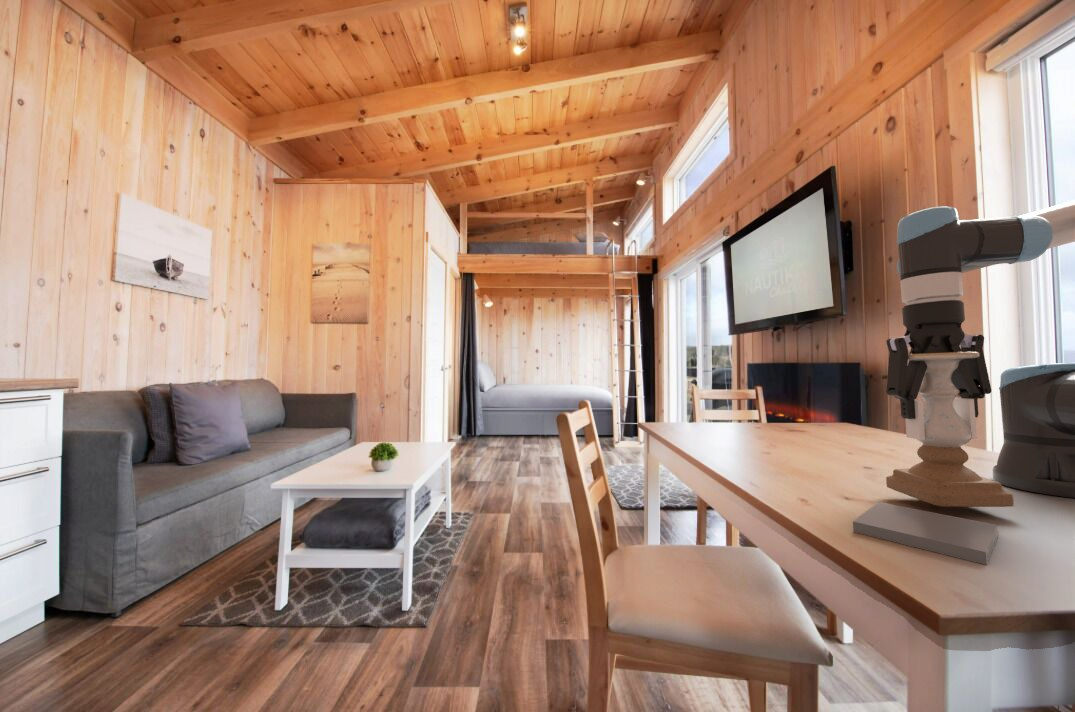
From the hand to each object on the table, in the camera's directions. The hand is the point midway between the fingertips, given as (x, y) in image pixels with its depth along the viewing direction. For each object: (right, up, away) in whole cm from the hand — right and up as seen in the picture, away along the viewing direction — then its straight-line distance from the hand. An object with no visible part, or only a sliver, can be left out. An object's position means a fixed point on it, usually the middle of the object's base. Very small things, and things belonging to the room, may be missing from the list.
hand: (940, 437), depth 68 cm
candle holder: (0, -10, 0) cm, 10 cm away
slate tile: (-13, -12, -10) cm, 20 cm away
